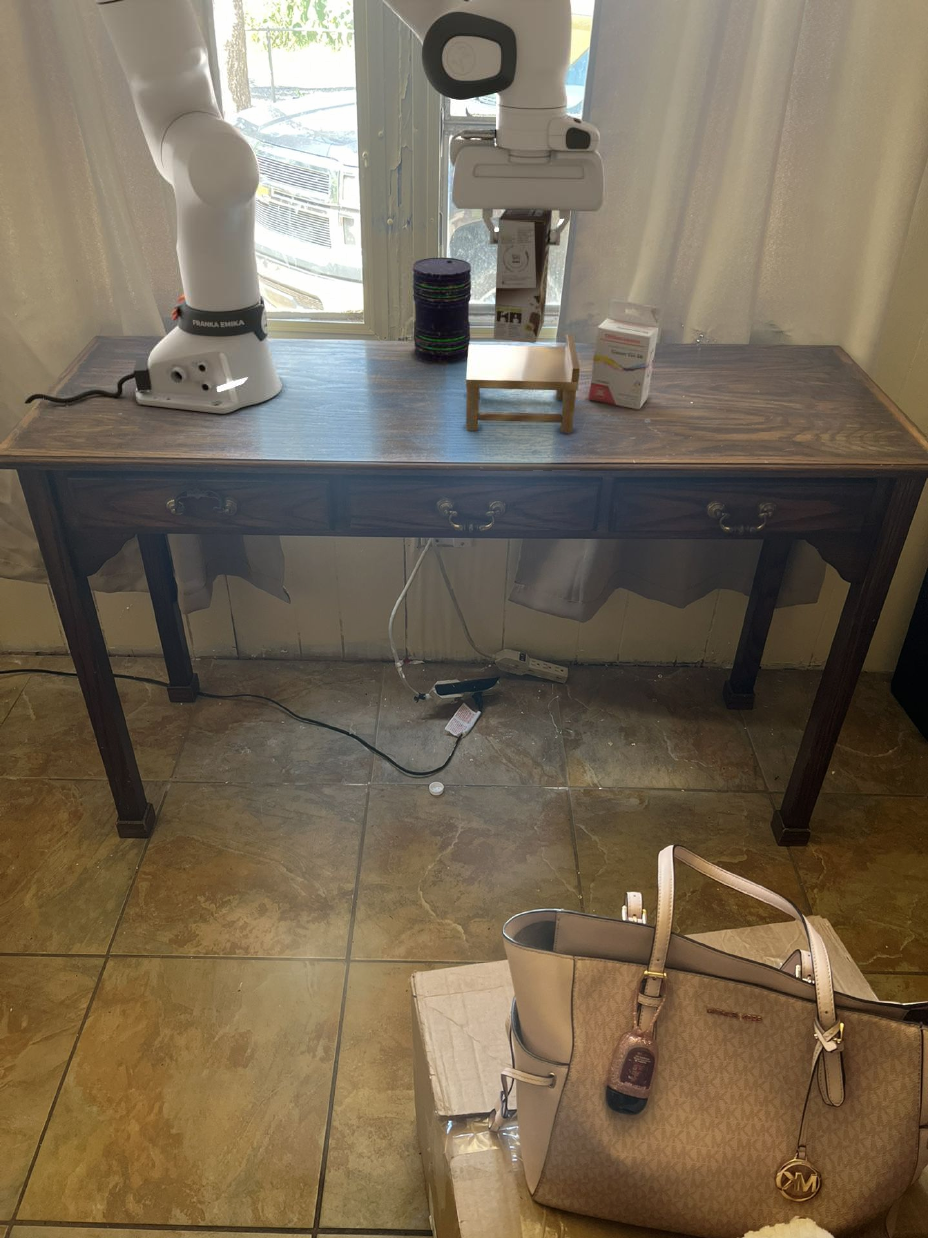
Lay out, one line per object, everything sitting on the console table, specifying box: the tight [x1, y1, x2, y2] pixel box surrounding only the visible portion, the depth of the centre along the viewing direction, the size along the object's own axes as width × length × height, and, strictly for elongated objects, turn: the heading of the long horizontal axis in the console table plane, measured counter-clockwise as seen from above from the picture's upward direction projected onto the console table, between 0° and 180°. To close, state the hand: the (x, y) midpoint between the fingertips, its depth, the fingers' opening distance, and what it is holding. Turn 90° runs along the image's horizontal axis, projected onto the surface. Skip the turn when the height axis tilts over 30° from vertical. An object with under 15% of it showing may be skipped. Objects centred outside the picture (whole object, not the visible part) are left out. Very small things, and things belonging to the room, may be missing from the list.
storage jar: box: [412, 256, 472, 365], centre depth 151 cm, size 10×10×15 cm
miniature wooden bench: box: [465, 333, 581, 434], centre depth 133 cm, size 16×14×10 cm
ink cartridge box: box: [588, 298, 661, 410], centre depth 137 cm, size 9×5×15 cm, turn 65°
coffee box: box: [493, 210, 553, 344], centre depth 124 cm, size 9×6×16 cm
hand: (524, 243), depth 121 cm, fingers closed on coffee box, 7 cm apart
